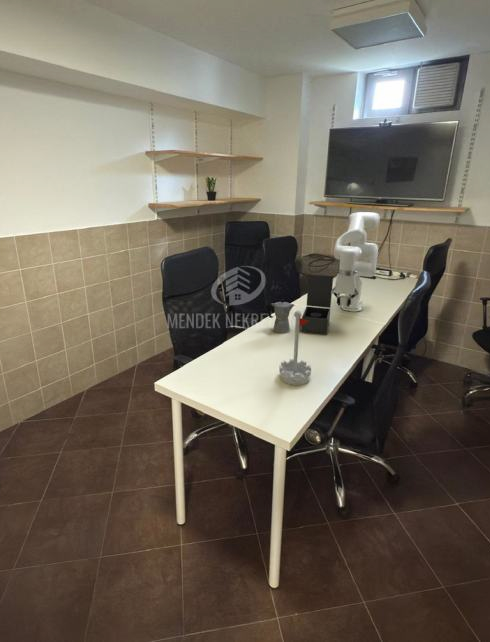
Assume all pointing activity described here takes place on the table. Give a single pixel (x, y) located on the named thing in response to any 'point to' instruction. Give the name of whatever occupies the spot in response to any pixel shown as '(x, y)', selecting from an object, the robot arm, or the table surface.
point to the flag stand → (295, 360)
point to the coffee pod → (343, 301)
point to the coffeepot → (280, 315)
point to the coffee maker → (316, 320)
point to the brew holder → (315, 315)
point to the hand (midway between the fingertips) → (343, 305)
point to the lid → (319, 290)
